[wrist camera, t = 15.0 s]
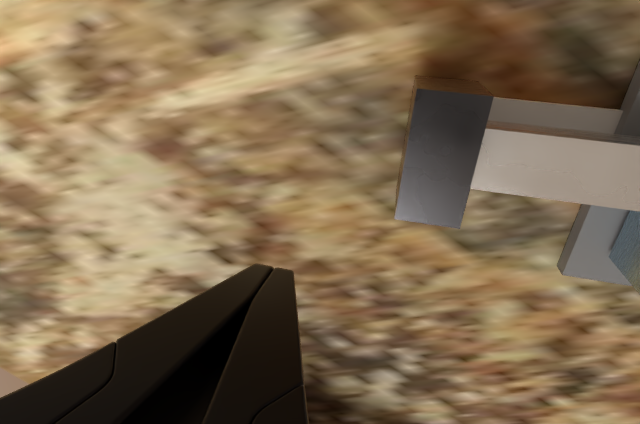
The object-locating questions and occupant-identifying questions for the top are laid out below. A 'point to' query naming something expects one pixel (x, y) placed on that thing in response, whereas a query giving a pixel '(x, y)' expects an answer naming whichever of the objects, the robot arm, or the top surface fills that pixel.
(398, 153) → the top surface
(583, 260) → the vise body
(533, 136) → the vise jaw
